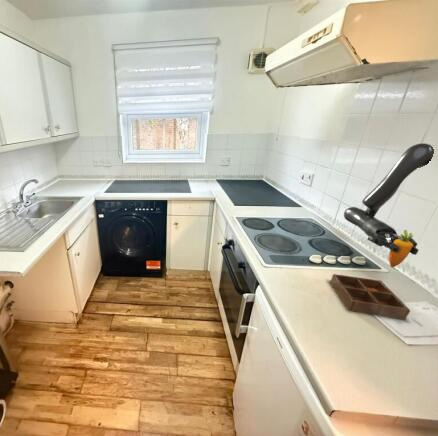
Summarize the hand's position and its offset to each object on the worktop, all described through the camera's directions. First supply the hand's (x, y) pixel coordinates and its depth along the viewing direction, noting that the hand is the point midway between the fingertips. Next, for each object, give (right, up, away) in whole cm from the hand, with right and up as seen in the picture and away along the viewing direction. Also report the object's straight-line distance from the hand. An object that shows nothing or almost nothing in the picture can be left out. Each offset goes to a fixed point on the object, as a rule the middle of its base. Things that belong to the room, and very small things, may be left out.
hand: (406, 251), depth 83 cm
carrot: (+1, -7, +6) cm, 9 cm away
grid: (-14, -17, +1) cm, 22 cm away
